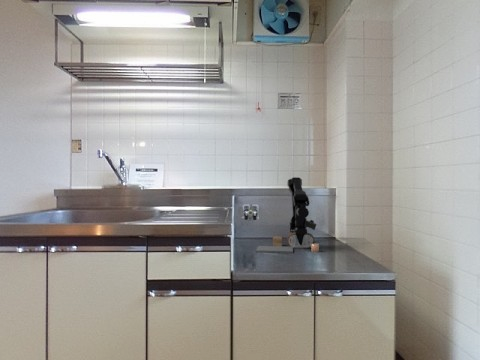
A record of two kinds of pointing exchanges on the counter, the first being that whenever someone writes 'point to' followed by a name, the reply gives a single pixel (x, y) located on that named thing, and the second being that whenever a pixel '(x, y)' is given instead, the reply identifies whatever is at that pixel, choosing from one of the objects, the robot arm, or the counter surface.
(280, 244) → the walnut block
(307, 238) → the tin
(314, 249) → the small orange block
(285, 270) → the counter surface
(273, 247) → the mat
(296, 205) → the robot arm
